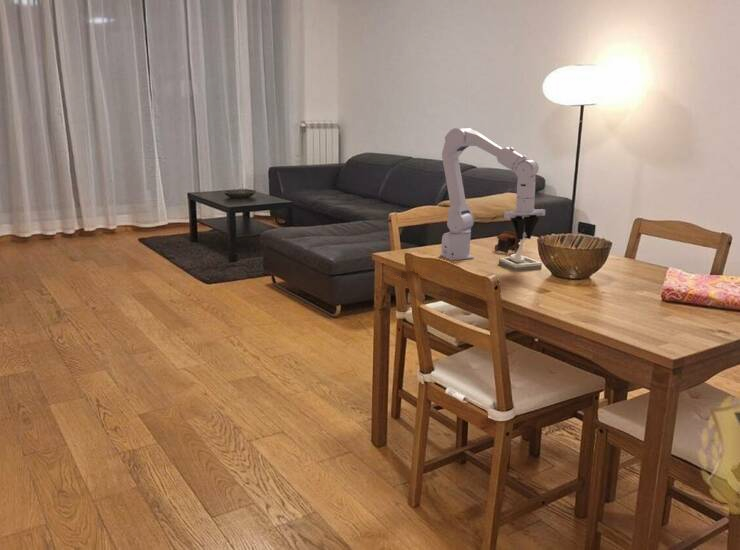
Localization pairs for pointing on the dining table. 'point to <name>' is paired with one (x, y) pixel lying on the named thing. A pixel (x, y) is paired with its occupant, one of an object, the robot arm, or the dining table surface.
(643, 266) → the dining table surface
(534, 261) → the picture frame
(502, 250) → the pottery mug
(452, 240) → the robot arm
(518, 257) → the chess piece
